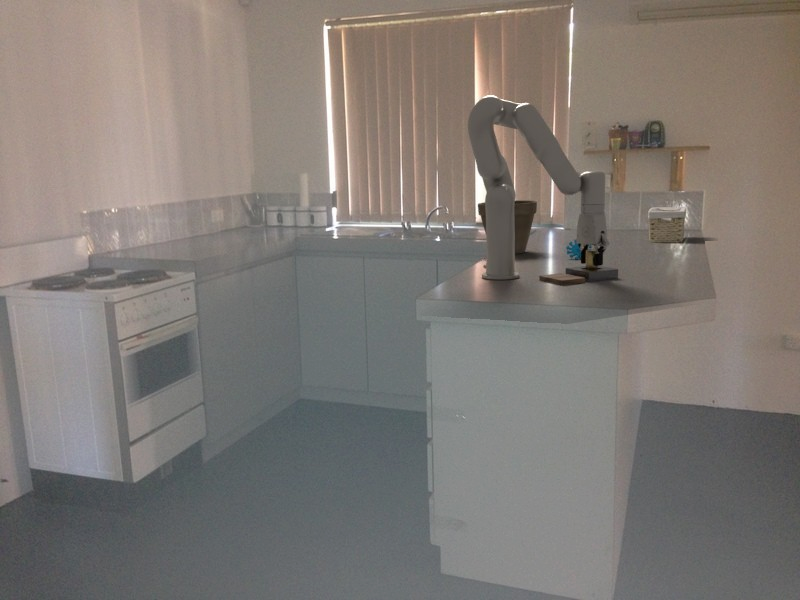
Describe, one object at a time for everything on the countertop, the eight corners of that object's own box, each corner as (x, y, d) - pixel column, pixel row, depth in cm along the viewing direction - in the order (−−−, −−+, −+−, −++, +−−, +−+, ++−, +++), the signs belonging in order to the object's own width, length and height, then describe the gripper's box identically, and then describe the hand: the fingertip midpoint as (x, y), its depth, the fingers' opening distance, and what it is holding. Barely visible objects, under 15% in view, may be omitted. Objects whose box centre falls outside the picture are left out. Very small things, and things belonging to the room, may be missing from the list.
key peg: (582, 277, 239) (583, 250, 237) (592, 276, 241) (592, 249, 239) (590, 278, 236) (591, 251, 234) (600, 277, 237) (600, 250, 235)
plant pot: (473, 256, 301) (472, 204, 297) (483, 248, 325) (483, 200, 321) (533, 256, 294) (533, 203, 290) (539, 249, 317) (539, 199, 313)
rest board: (539, 280, 236) (539, 275, 236) (561, 277, 240) (561, 273, 239) (562, 285, 225) (562, 280, 225) (584, 282, 229) (585, 277, 229)
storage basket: (684, 243, 322) (685, 210, 319) (646, 242, 328) (647, 210, 325) (685, 237, 343) (686, 206, 341) (649, 237, 350) (650, 206, 347)
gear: (563, 255, 281) (569, 236, 286) (563, 264, 286) (570, 245, 291) (591, 260, 277) (597, 240, 282) (591, 269, 282) (597, 249, 286)
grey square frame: (565, 276, 241) (565, 268, 240) (593, 273, 246) (593, 264, 245) (588, 281, 230) (589, 272, 230) (618, 278, 235) (618, 269, 235)
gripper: (566, 209, 240) (566, 262, 243) (601, 211, 225) (600, 268, 228) (584, 207, 243) (583, 260, 247) (620, 210, 228) (618, 266, 231)
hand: (591, 263), depth 237 cm, fingers open, 5 cm apart
